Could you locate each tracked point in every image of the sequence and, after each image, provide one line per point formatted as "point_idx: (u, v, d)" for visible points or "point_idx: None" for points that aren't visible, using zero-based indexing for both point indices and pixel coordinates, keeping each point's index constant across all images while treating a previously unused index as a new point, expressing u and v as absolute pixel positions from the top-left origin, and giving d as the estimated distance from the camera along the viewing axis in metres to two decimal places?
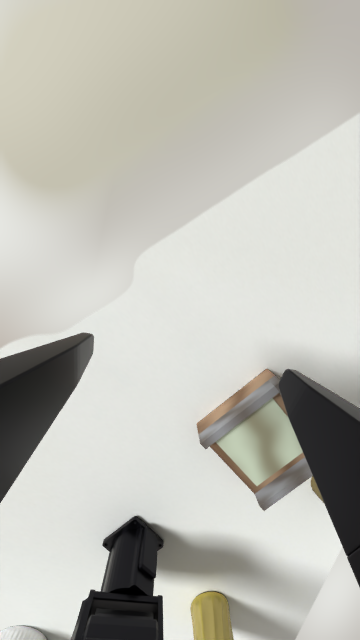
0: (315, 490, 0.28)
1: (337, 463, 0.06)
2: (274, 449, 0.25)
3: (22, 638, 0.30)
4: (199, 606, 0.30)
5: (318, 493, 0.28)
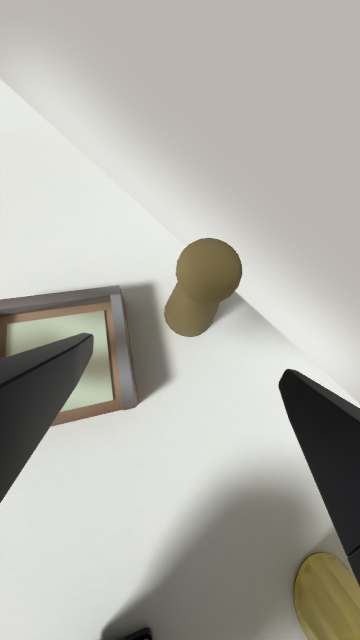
0: (184, 333, 0.23)
1: (337, 463, 0.06)
2: None
3: None
4: (306, 625, 0.16)
5: (184, 331, 0.22)
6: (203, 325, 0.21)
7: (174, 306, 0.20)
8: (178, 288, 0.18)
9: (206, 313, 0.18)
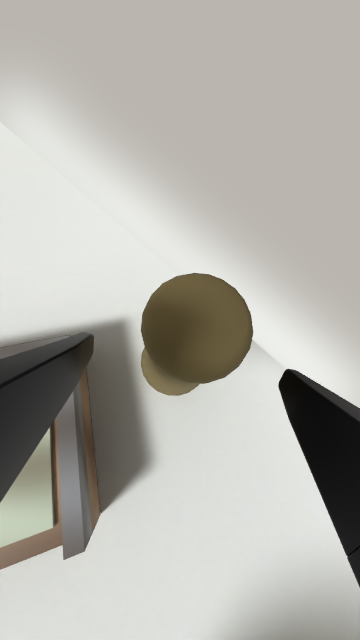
0: (168, 393, 0.16)
1: (337, 463, 0.06)
2: None
3: None
4: None
5: (168, 392, 0.16)
6: (194, 386, 0.15)
7: (150, 365, 0.13)
8: None
9: None
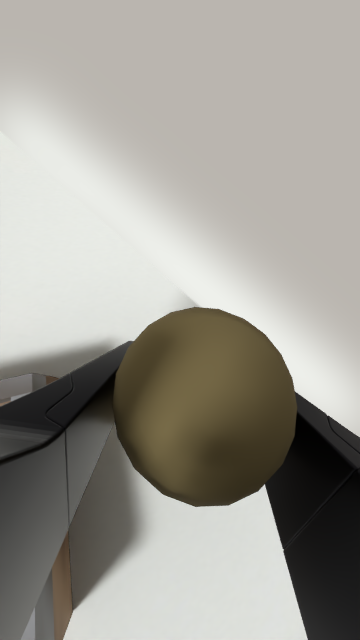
0: None
1: None
2: None
3: None
4: None
5: None
6: None
7: None
8: None
9: None
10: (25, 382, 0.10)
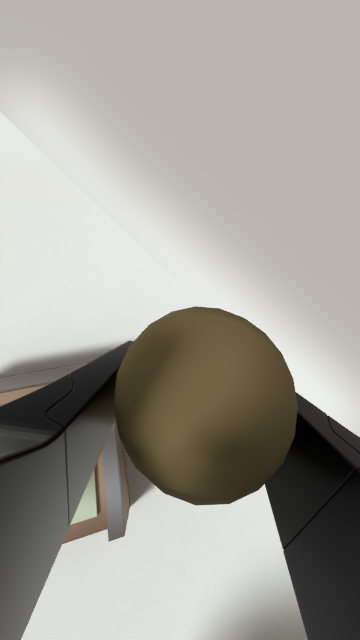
0: None
1: None
2: None
3: None
4: None
5: None
6: None
7: None
8: None
9: None
10: None
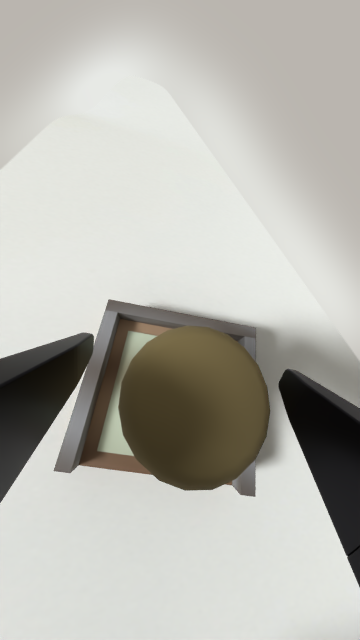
0: None
1: (337, 463, 0.06)
2: None
3: None
4: None
5: None
6: None
7: None
8: None
9: None
10: (252, 331, 0.17)
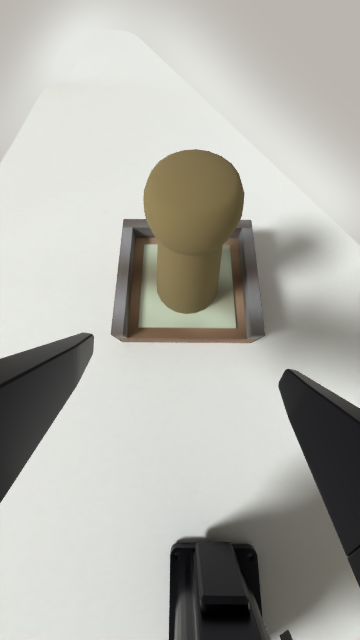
0: (186, 310, 0.18)
1: (337, 463, 0.06)
2: None
3: None
4: None
5: (185, 307, 0.17)
6: (207, 293, 0.16)
7: (162, 275, 0.15)
8: (159, 246, 0.13)
9: (206, 273, 0.13)
10: (248, 223, 0.20)
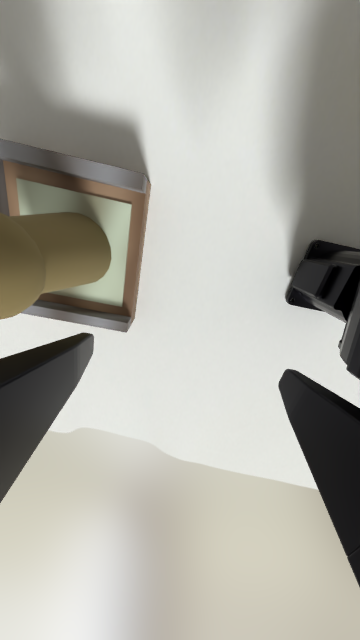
0: (107, 259, 0.17)
1: (337, 463, 0.06)
2: None
3: None
4: None
5: (104, 261, 0.17)
6: (89, 237, 0.14)
7: (68, 287, 0.14)
8: None
9: (65, 245, 0.12)
10: None
